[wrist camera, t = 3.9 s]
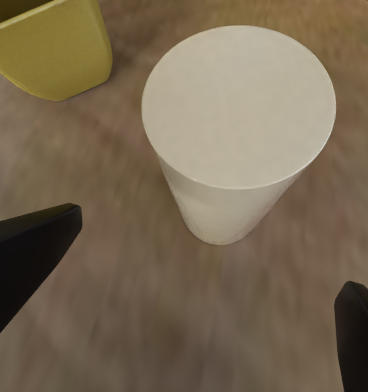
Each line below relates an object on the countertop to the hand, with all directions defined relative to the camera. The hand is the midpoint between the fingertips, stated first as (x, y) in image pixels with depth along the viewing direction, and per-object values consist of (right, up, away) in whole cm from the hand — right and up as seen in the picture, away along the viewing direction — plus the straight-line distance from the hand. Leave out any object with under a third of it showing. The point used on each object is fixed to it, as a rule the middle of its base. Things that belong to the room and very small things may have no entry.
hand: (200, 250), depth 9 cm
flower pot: (-11, +14, +17) cm, 24 cm away
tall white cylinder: (+2, +1, +12) cm, 12 cm away
